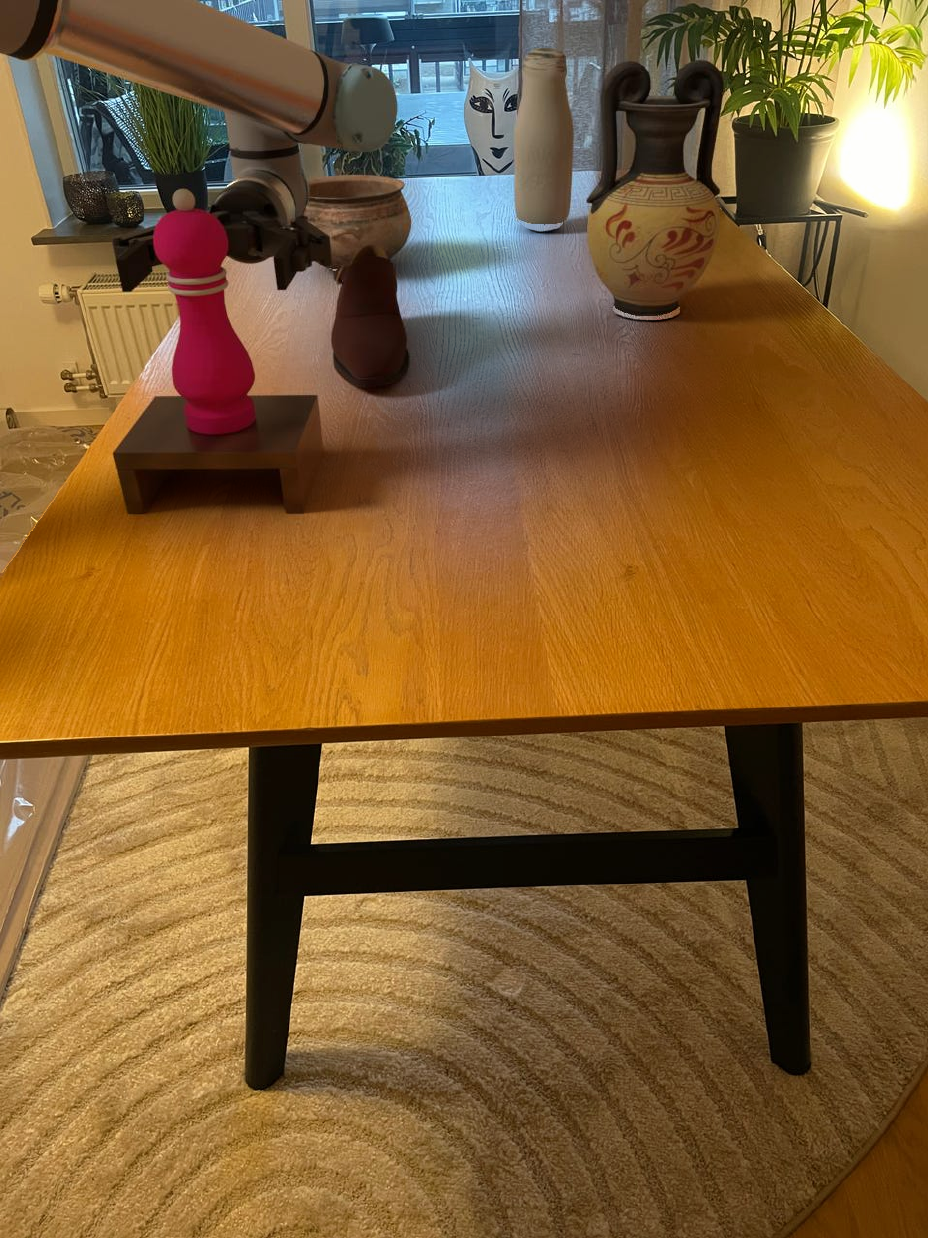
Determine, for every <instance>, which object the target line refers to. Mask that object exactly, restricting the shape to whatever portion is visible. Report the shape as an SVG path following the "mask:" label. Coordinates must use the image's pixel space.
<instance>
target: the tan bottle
mask: <svg viewBox="0 0 928 1238" xmlns="http://www.w3.org/2000/svg"><path fill="white" fill-rule="evenodd" d="M567 75H568V66H567V56H566V55H565V54H564V52H562V51H561V50H558V49H556V48H552V47H537V48H533V49H531V50H530V51H529V52H527V54H526V55H525V56H524V59H523V63H522V67H521V79H522V89H521V90H522V91H521V97H520V103H519V106H518V110H517V115H516V120H515V125H514V131H513V162H514V163H513V165H514V167H513V168H514V188H513V189H514V191H513V192H514V196H513V197H514V210H515V216H516V218H518V219H519V220H521V221H524V222H527V223H531V224H544V225H545V224H557V223H562V222H564V221H565V220H566V221H567V220H568V217H569V216H570V211H571V203H572V187H573V169H574V168H573V166H574V147H575V146H574V145H575V129H574V120H573V115H572V110H571V107H570V102H569V97H568V89H567V82H566V78H567ZM518 219H517V220H518ZM519 220H518V221H519ZM566 221H565V222H566ZM565 222H564V223H565Z"/></svg>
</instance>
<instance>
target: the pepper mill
mask: <svg viewBox="0 0 928 1238" xmlns="http://www.w3.org/2000/svg"><path fill="white" fill-rule="evenodd" d="M172 204H173V206H174V208H175V209H174V210H171V211H169V212H167V213H165V214H164V215H163V216H162V217H161V218H160V219H159V220H158V222H157V223H156V224H155V225H156V227H155V230H154V235H153V243H154V249H155V253H156V255H157V257H158V259H159V260H160V261H161V262H162V263H163V264H162V265H164V266H165V268H167V269H168V271H167V273H166V274H165V279H166V281H167V283H168V286H167V289H168V291H169V292H170V293H171V294H173V295H174V298H175V300H176V304H177V309H178V314H179V315H178V316H179V334H178V339H177V343H176V345H175V346H176V347H175V350H174V354H173V358H172V366H171V375H172V376H171V377H172V385H173V387H174V390H176V392H177V393H178V395H179V396H182V397H183V398H184V399H186V400H187V401H188V402H187V403H186V404H185V406H184V413H185V418H186V423H187V426H188V428H189V429H190V430H192V431H194V432H196V433H200V434H204V435H222V434H229V433H234V432H238V431H240V430H243V429H245V428H247V427H249V426H250V425H252V424H253V422H254V421H255V418H256V415H255V408H254V401H253V399H252V398H251V397H250V396H249V395H248V394H249V392H250V391H251V390H252V388H253V386H254V384H255V381H256V373H255V369H254V364H253V360H252V358H251V357H250V354H249V352H248V350H247V349H246V346H245V345H244V344H243V342H242V341H241V339H240V337H239V336H238V335H237V332H236V331H235V329H234V328H233V326H232V323H231V321H230V318H229V315H228V312H227V307H226V306H227V305H226V301H225V300H226V299H225V297H226V296H225V289H227V288H228V286H229V281H228V279H227V273H228V272H227V269H226V268H225V267H223V266H222V264H223V262H224V260H225V259H226V257H227V256H226V255H227V252H228V239H227V235H226V231H225V229H224V227H223V225H222V224H221V223H220V221H219V220H218V219H217V218H216V217H215V216H213V215H212V214H211V213H209V211H206V210H203V209H201V208H195V207H196V206H195V205H196V198H195V195H194V194H193V193H192V192H191V191H190V190H189V189H187V188H179V189H176V191H174V193H173V195H172Z"/></svg>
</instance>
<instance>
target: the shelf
mask: <svg viewBox="0 0 928 1238" xmlns="http://www.w3.org/2000/svg"><path fill="white" fill-rule="evenodd" d="M248 396H250V397H251V398H252V399H253V401H254V408H255V415H256V418H255V421H254V422H253V424H252V425H250V426H249V427H247V428H245V429H243V430H240V431H238V432H234V433H229V434H222V435H204V434H200V433H196V432H194V431H192V430H190V429H189V428H188V426H187V423H186V418H185V413H184V406H185V404H186V403H187V402H188V401H187V400H186V399H184V398H183V397H182V396H181V395H155V396H154V397H153V399H152V400H151V401H150V403H149V404H148V405H147V406H146V408H145V409H144V411H143V412H142V413H141V414H140V416H139V417H138V418H137V420H136V421H135V422H134V424H133V425H132V427H130V429H129V430H128V432H127V433H126V434H125V436H124V437H123V438H122V440H121V441H120V442H119V444H118V445H117V447H116V448H115V449H114V450H113V452H112V456H113V461H114V464H115V469H116V472H117V476H118V481H119V483H120V489H121V492H122V497H123V500H124V504H125V508H126V513H127V514H128V515H129V514H135V515H136V514H145V513H146V512H147V510H148V508H149V507H150V505H151V504H152V502H153V500H154V499H155V497H156V496H157V494H158V493H159V491H160V489H161V488H162V486H163V485H164V483H165V481H166V479H167V478H168V476H169V475H170V473H171V471H172V470H267V469H268V470H269V469H270V470H271V469H273V470H274V469H275V470H276V469H277V470H279V476H280V483H281V490H282V498H283V504H284V512H285V514H303V513H304V510H305V508H306V505H307V501H308V499H309V496H310V493H311V490H312V487H313V484H314V482H315V478H316V476H317V472H318V470H319V466H320V464H321V460H322V457H323V454H324V452H325V451H324V450H325V449H324V442H323V440H324V439H323V432H322V423H321V415H320V405H319V404H320V403H319V395H318V394H291V395H290V394H276V395H275V394H274V395H272V394H271V395H270V394H268V395H264V394H263V395H262V394H261V395H260V394H259V395H258V394H257V395H256V394H255V395H251V394H249V395H248Z"/></svg>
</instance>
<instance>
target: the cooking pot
mask: <svg viewBox="0 0 928 1238" xmlns="http://www.w3.org/2000/svg"><path fill="white" fill-rule="evenodd" d="M308 183H309V200H308V205H307V206H306V210H305V212H304V216H308V222H310V223H311V224H313V225H314V226H315V227H317V228H318V229H320V230H321V231H323V232H324V233H326V234H327V235H329V236H330V243H331V254H332V264H331V265H329V266H323V265H321V266H322V267H323V268H326V267H327V268H326V269H328V268H331V269H338V268H341V267H342V265H345V267H349V264H350V262H351V261H352V259H353V258H354V256H355V255H356V254H357V252H358V251H359V250H360V249H361V248H362V247H364V246H366V245H371V244H375V245H379V246H381V247H382V248H383V249H384V250H385V251H386V252H387V254H388V255H389V257H390V259H392V258H393V257H394V256H395V255H397V254H398V253H399V252H400V251H401V250H402V249H403V248H404V247H405V245H406V244H407V241H408V240H409V236H410V233H411V230H412V216H411V213H410V210H409V207H408V203H407V201H406V198H405V196H404V194H403V192H402V190H403V189H404V188H405V186H406V183H405V182H404V181H402V180H400V179H398V178H394V177H390V176H384V175H373V174H342V175H327V176H321V177H320V176H319V177H315V178H309V179H308ZM314 262H315V263H317V262H316V261H314Z"/></svg>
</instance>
